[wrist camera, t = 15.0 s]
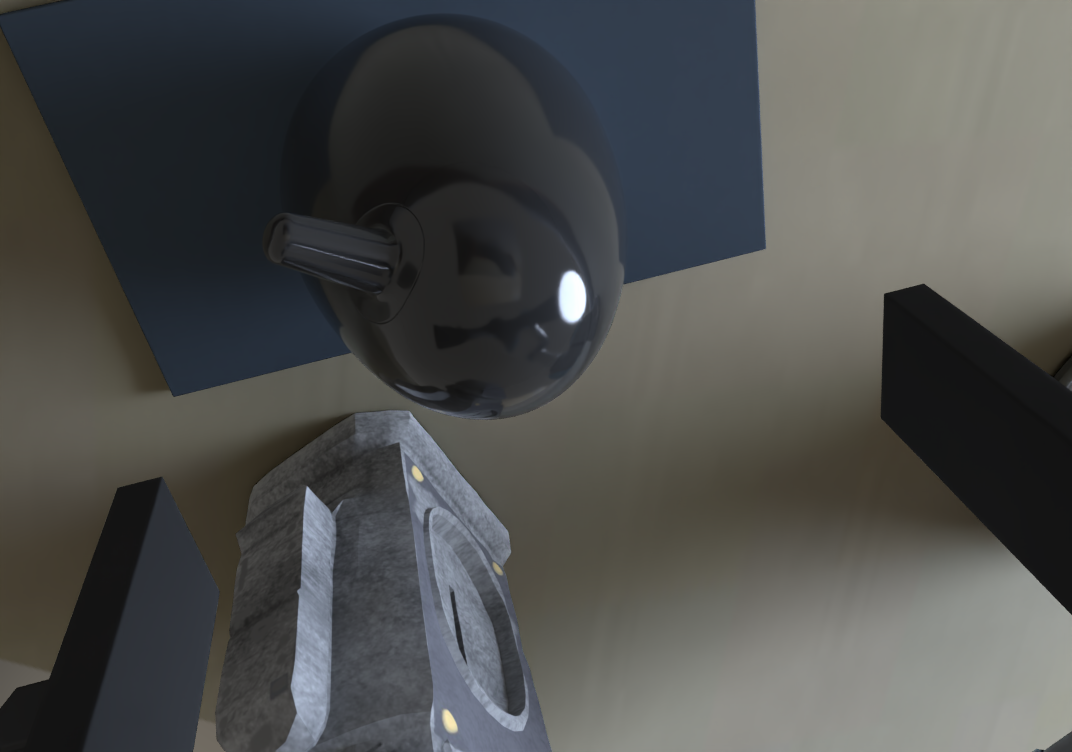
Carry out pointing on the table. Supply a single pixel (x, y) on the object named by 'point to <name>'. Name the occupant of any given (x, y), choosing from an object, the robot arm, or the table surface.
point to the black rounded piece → (454, 214)
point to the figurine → (374, 606)
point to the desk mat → (264, 115)
